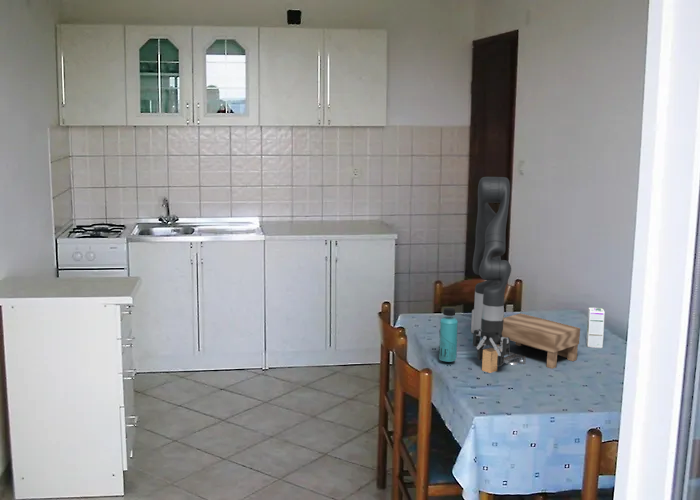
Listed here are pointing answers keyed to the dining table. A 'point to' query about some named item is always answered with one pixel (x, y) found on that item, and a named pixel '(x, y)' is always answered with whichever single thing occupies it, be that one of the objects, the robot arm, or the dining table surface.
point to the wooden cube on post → (491, 359)
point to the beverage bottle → (448, 336)
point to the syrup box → (595, 327)
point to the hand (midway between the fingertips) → (490, 362)
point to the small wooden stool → (543, 336)
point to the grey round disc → (512, 362)
